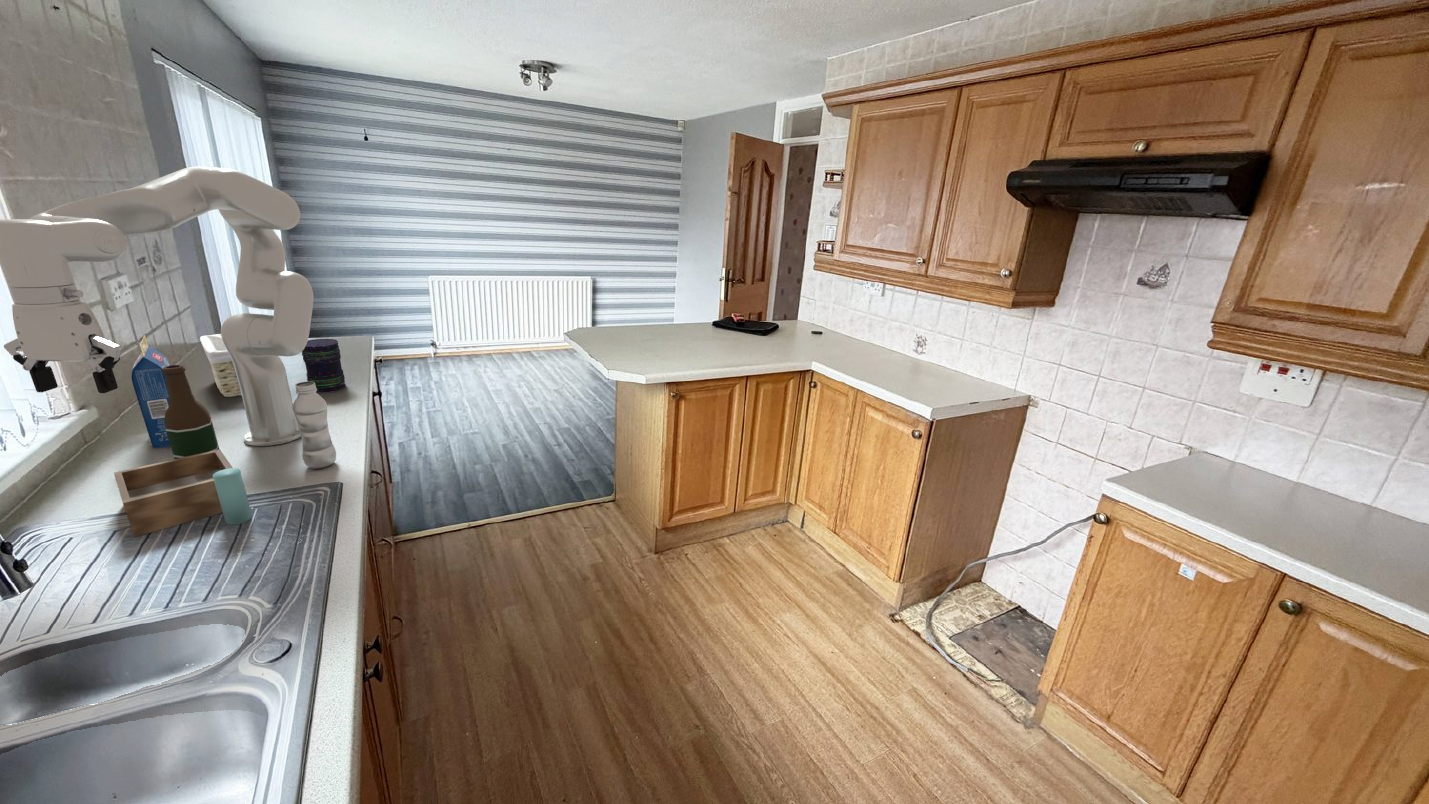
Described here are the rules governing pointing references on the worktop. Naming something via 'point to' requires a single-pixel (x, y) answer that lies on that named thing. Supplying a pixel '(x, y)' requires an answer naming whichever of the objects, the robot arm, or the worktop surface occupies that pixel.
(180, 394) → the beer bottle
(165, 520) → the box
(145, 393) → the blue food package
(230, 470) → the peg
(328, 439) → the plastic bottle
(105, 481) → the worktop surface
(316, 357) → the storage jar
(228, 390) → the storage basket
